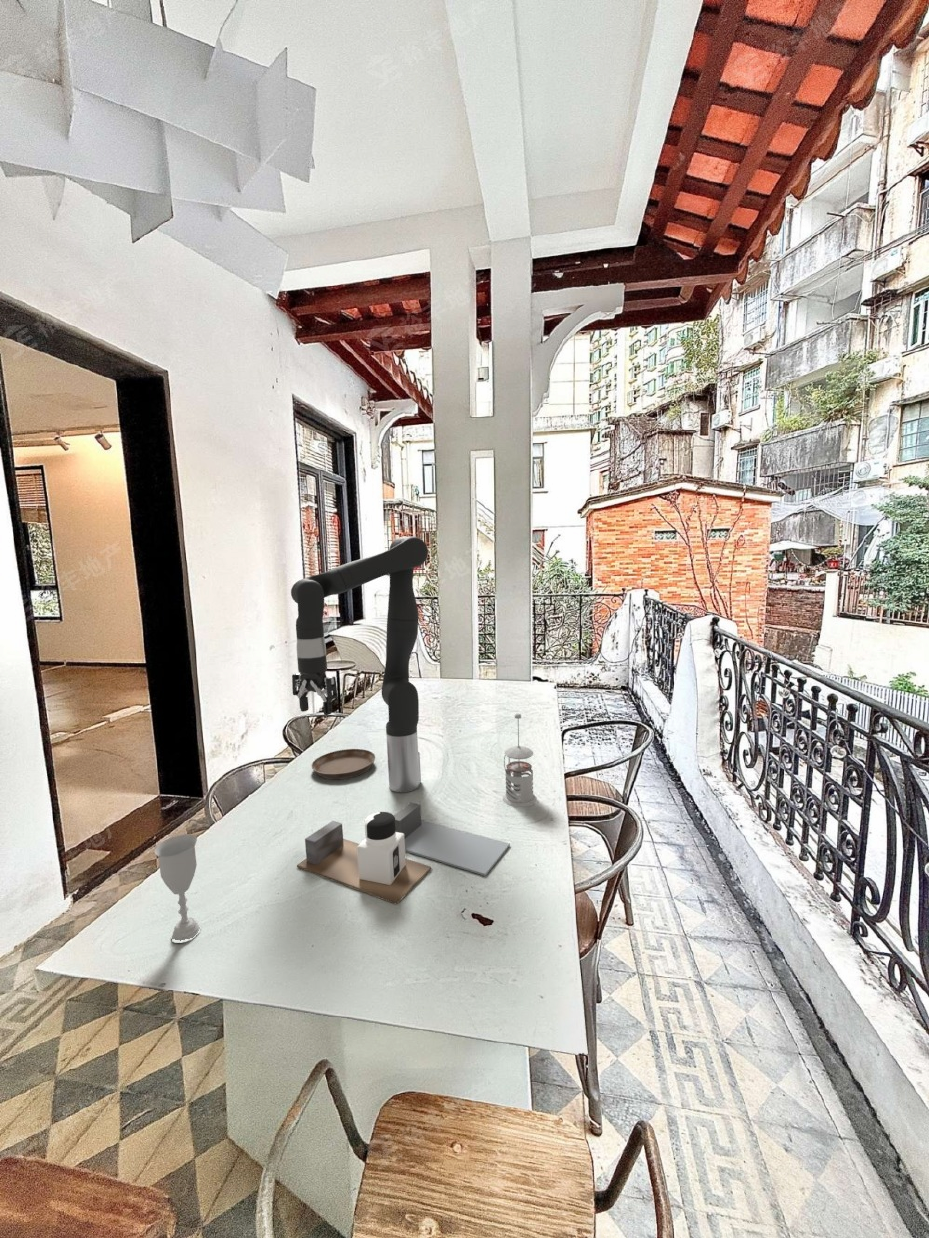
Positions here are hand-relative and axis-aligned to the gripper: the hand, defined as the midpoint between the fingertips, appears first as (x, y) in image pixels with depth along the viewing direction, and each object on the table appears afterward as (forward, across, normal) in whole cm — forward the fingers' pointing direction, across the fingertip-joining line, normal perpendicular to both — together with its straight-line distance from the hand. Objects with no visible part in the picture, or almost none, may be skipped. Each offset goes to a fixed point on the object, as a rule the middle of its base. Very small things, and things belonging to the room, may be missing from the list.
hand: (316, 712), depth 139 cm
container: (+28, -33, +16) cm, 46 cm away
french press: (+28, -46, -30) cm, 62 cm away
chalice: (+28, -11, +47) cm, 56 cm away
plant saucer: (+29, +14, -24) cm, 40 cm away
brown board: (+28, -28, +16) cm, 43 cm away
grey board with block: (+28, -40, 0) cm, 49 cm away
